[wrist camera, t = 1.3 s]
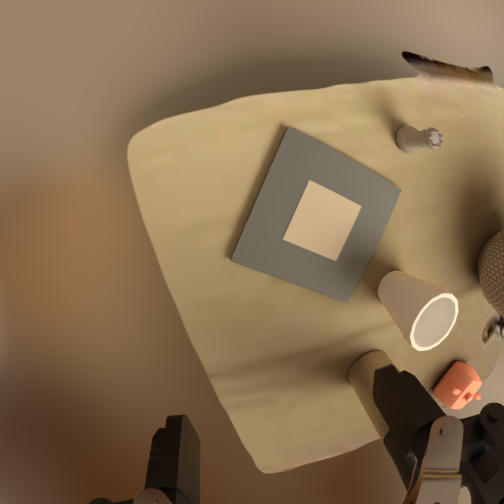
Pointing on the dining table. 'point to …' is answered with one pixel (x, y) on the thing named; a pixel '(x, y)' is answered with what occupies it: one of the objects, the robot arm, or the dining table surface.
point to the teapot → (458, 386)
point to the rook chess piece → (418, 139)
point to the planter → (493, 271)
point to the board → (315, 218)
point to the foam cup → (418, 308)
